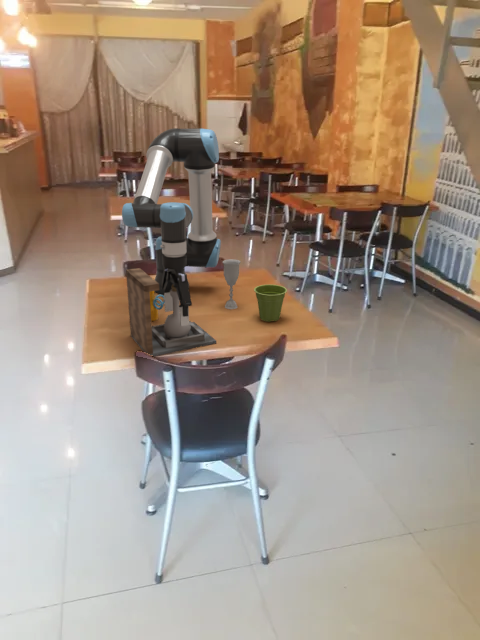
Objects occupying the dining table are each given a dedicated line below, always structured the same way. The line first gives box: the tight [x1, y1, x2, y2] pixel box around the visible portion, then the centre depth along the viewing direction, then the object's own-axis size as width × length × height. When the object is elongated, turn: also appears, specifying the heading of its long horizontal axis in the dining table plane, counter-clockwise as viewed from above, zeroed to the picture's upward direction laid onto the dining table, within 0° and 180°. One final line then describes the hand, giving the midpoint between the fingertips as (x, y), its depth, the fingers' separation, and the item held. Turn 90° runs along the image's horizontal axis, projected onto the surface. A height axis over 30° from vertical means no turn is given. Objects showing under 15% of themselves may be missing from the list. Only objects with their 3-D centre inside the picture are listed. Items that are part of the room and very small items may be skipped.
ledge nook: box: [125, 267, 217, 357], centre depth 161 cm, size 18×23×23 cm
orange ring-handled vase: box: [150, 277, 165, 322], centre depth 179 cm, size 12×10×15 cm
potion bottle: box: [163, 284, 191, 340], centre depth 162 cm, size 9×9×18 cm
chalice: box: [222, 259, 241, 310], centre depth 192 cm, size 7×7×18 cm
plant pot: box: [253, 284, 288, 322], centre depth 182 cm, size 12×12×11 cm
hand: (176, 317), depth 163 cm, fingers open, 13 cm apart
